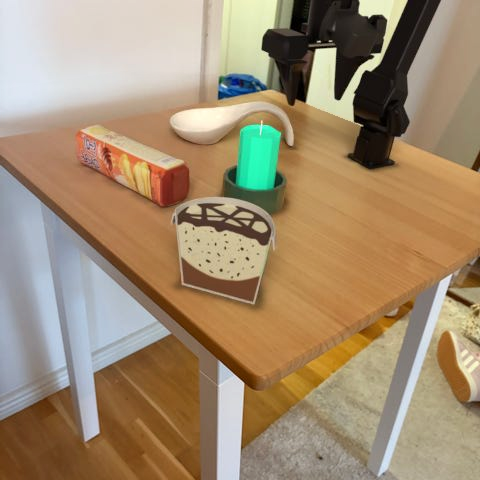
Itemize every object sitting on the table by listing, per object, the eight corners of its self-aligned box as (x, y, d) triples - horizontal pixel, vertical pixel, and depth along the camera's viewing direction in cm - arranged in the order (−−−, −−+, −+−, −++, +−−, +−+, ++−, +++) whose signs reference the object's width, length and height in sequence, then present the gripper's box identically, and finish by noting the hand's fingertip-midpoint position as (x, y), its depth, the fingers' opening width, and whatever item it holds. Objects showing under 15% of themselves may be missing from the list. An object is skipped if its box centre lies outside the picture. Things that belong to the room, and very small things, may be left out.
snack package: (74, 165, 88) (69, 125, 83) (106, 156, 92) (103, 116, 88) (160, 213, 78) (160, 170, 73) (192, 200, 82) (194, 158, 77)
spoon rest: (169, 149, 96) (169, 109, 92) (169, 126, 105) (169, 88, 101) (296, 155, 99) (302, 116, 95) (286, 132, 108) (291, 95, 104)
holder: (261, 183, 88) (263, 160, 86) (295, 208, 82) (299, 184, 80) (211, 193, 84) (212, 169, 82) (243, 220, 78) (245, 195, 76)
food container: (280, 280, 67) (291, 209, 61) (266, 308, 62) (277, 233, 56) (190, 257, 69) (192, 186, 63) (170, 281, 65) (170, 207, 58)
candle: (248, 209, 80) (256, 130, 72) (227, 192, 84) (233, 115, 76) (280, 202, 83) (291, 125, 75) (258, 186, 86) (267, 111, 79)
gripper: (317, -4, 63) (297, 127, 73) (424, -4, 72) (394, 113, 82) (265, -20, 70) (253, 102, 80) (368, -18, 79) (346, 91, 89)
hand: (314, 102), depth 82 cm, fingers open, 9 cm apart
